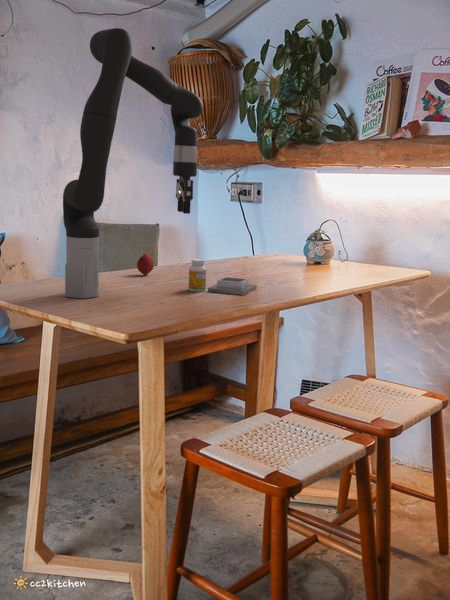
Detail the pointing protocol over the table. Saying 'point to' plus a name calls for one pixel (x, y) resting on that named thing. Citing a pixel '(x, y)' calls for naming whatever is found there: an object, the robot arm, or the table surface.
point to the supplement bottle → (197, 276)
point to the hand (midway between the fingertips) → (183, 212)
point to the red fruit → (145, 264)
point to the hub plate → (232, 286)
